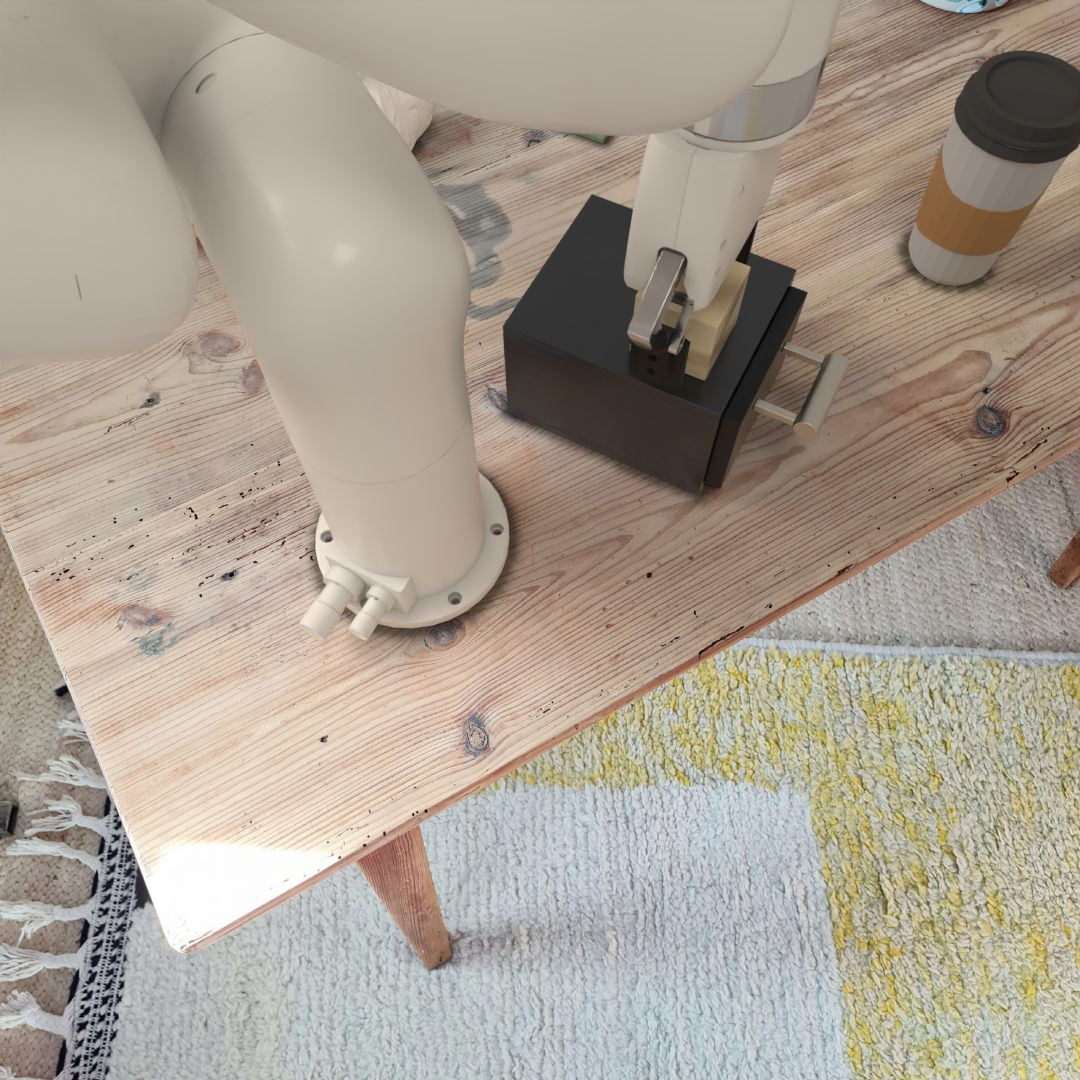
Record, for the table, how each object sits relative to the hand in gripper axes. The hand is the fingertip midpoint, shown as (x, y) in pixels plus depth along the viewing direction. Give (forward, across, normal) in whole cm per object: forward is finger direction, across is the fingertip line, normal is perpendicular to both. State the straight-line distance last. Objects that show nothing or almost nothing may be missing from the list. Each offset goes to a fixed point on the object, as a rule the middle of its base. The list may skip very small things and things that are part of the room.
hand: (688, 318), depth 58 cm
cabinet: (+11, -2, -3) cm, 12 cm away
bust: (+11, -14, -33) cm, 38 cm away
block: (+2, 0, 0) cm, 2 cm away
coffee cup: (+12, -24, +13) cm, 29 cm away
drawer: (+10, -2, +1) cm, 11 cm away
